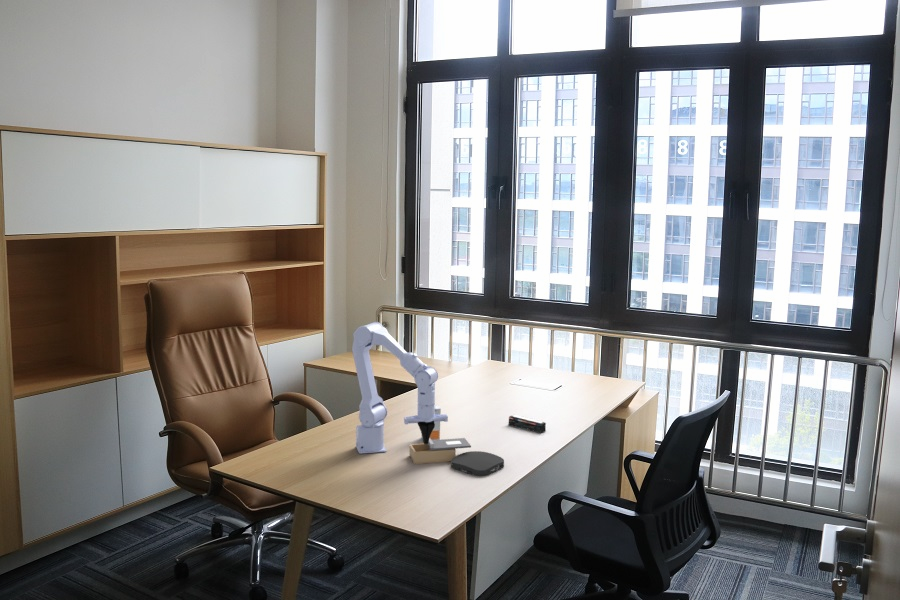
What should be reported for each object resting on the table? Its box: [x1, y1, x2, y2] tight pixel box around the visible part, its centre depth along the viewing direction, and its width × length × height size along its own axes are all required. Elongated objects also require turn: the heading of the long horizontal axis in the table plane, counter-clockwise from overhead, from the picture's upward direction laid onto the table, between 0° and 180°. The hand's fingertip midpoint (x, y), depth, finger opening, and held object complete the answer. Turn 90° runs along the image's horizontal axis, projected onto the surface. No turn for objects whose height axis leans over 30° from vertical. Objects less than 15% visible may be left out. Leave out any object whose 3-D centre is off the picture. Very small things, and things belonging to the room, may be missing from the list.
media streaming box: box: [450, 450, 505, 477], centre depth 254 cm, size 15×15×3 cm
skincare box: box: [421, 404, 442, 440], centre depth 279 cm, size 6×4×12 cm
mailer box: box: [409, 442, 457, 465], centre depth 260 cm, size 14×8×4 cm, turn 105°
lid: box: [426, 437, 472, 450], centre depth 261 cm, size 14×8×2 cm, turn 105°
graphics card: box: [508, 414, 547, 434], centre depth 296 cm, size 14×25×4 cm, turn 51°
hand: (425, 443), depth 259 cm, fingers closed
